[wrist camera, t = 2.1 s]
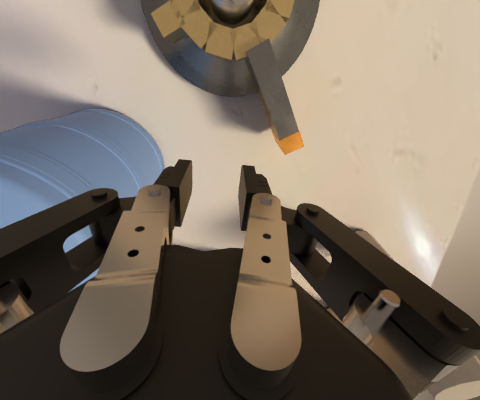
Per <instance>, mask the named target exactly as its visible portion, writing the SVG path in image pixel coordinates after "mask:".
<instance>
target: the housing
mask: <svg viewBox="0 0 480 400" xmlns="http://www.w3.org/2000/svg"><path fill="white" fill-rule="evenodd" d="M168 1H169V0H141V4H142V8H143V12H144V15H145V18H146V21H147V24H148V27H149V29H150V31H151V33H152V35H153V38H154V40H155V42H156V43H157V45H158V47H159V49H160V50H161V52H162V53H163V55H164V56H165V58H166V59H167V60H168V62H169V63H170V64H171V65H172V66H173V67H174V68H175V70H176V71H177V72H178V73H179V74H181V75H182V76H183V77H184V78H185V79H186V80H188V81H189V82H191V83H192V84H194V85H195V86H197V87H199V88H201V89H203V90H205V91H207V92H210V93H213V94H217V95H222V96H244V95H248V94H252V93H255V92H257V90H256V88H255V85H254V83H253V80H252V77H251V75H250V72H249V70H248V67H247V64H246V62H245V59H243V60H240V61H237V62H235V60H234V56H233V54H232V59H231V62H228V61H225V60H222V59H219V58H215V57H212V56H209V55H208V54H207V53H205V52H204V51H203V50H202V49H201V48H200V47H199V46H198V45H197V44H196V43H195V42H194V41H193V40H192V39H191V37H190V36H189V35H188V36H187V37H185V38H184V39H182V40H180V41H179V42H177V43H176V44H174V43H172V42H170V41H169V40H167V39H165V38H163V36H162V34H161V32H160V30H159V28H158V26H157V24H156V23H155V21H154V19H153V17H152V15H151V13H152V12H153V11H155V10H156V9H158V8H159V7H161V6H162V5H164V4H165V3H167V2H168ZM319 2H320V0H295V1H294V4H293V8H292V11H291V14H290V18H289V19H288V20H287V21H286V22H285V23H286V25H285V26H284V28H283V29H282V30H281V31H280V32H279V33H278V35H277V36H276V37H275V38H274V39H273V41H272V42H271V46H272V49H273V52H274V55H275V58H276V62H277V65H278V68H279V71H280V74H281V77H282V76H283V75H284V74H285V73H286V72H287V71H288V70H289V68H290V67H291V66H292V65H293V64H294V62H295V61H296V60H297V58H298V57H299V55H300V53H301V52H302V50H303V48H304V46H305V45H306V43H307V41H308V39H309V36H310V34H311V31H312V28H313V26H314V22H315V19H316V15H317V12H318V7H319ZM262 3H263V0H200V4H201V7H202V9H203V10H204V11H205V12H206V13H207V15H208V16H209V17H210V18H211V19H212V21H213V22H214V23H217V24H220V25H223V26H226V27H229V28H232V29H234V28H237V27H240V26H243V25H245V24H248V23H251V22H252V21H253V20H254V19H255V17H256V16H257V15H258V14H259V12H260V11H261V8H262Z"/></svg>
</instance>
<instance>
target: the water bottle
mask: <svg viewBox="0 0 480 400" xmlns="http://www.w3.org/2000/svg"><path fill="white" fill-rule="evenodd" d="M355 233H357V234H358V235H359V236H361V237H362V238H363V239H365V240H366V241H368V242H369V243H370V244H372V245H373V246H374V247H376V248H377V249H379V250H380V251H381V252H383V253H384V254H385V255H387V256H388V257H390V255H389V254H388V253H387V252H386V251H385V250H384V249H383V247H382V246H381V245H380V244H379V243H378V242H377V241H376V240H375V238H374V237H373V236H372V235H371V234H369V233H368V232H366V231H355ZM390 258H391V257H390ZM391 259H392V258H391ZM392 260H393V259H392ZM427 389H428V391H429V392H430V394H431V395H432V396H433V398H434V399H435V400H467V399H471V398H474V397H477V396H480V361H479V359H478V358H477V357H476V355H475V356H473V357H472V358H471V359H469V360H468V361H466V362H465V363H463V364H462V365H461V366H459V367H458V368H456V369H455V370H453V371H452V372H450V373H449V374H448V375H446V376H445V377H443V378H442V379H440V380H439V381H438V382H436V383H435V384H433V385H432V386H430V387H429V388H427Z"/></svg>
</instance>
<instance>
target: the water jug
mask: <svg viewBox="0 0 480 400" xmlns="http://www.w3.org/2000/svg"><path fill="white" fill-rule="evenodd" d="M163 169H164V160H163V157H162V154H161V151H160V149H159V147H158V145H157V143H156V142H155V140H154V139H153V137H152V136H151V135H150V134H149V133H148V132H147V131H146V130H145V129H144V128H143V127H142V126H141V125H140V124H138V123H137V122H135V121H134V120H132V119H131V118H129V117H127V116H125V115H123V114H120V113H118V112H115V111H111V110H106V109H86V110H82V111H78V112H74V113H71V114H69V115H67V116H64V117H60V118H56V119H49V120H42V121H37V122H33V123H29V124H26V125H23V126H20V127H17V128H15V129H13V130H9V131H5V132H1V133H0V229H1V228H3V227H6V226H8V225H10V224H12V223H15V222H17V221H19V220H22V219H24V218H26V217H29V216H31V215H33V214H36V213H38V212H40V211H43V210H45V209H47V208H50V207H52V206H54V205H57V204H59V203H61V202H64V201H66V200H68V199H71V198H73V197H75V196H78V195H80V194H82V193H85V192H87V191H90V190H93V189H98V188H111V189H114V190H116V191H117V192H118V196H119V198H126V197H135V196H137V193H138V191H139V189H141V188H142V187H144V186H148V185H153V184H154V183H155V181H156V180H157V178H159V175H160V174H161V172H162V171H163ZM90 237H92V234H91V231H90V228H89V225H88V226H86V227H85V228H83V229H81V230H79V231H78V232H76V233H74V234H72V235H71V236H69V237H68V238H67V239H66V240H65V242H64V244H63V249H64V252H65V253H66V252H68V251H69V250H71V249H72V248H74V247H76V246H77V245H79V244H80V243H82V242H84V241H85V240H87V239H88V238H90ZM98 270H99V268H98V269H97V270H96V271H95V272H93V273H92V274H91V275H90V276H88V277H87V278H86V279H84V280H83V281H82V282H81V283H79V284H78V285H77V286H76V287H78V286H80V285H81V284H83V283H85V282H86V281H88V280H89V279H91V278H93V277H94V276H96V274H97V272H98ZM76 287H74V288H73V289H75V288H76ZM73 289H72V290H73ZM70 291H71V290H70ZM70 291H69V292H70Z"/></svg>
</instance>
